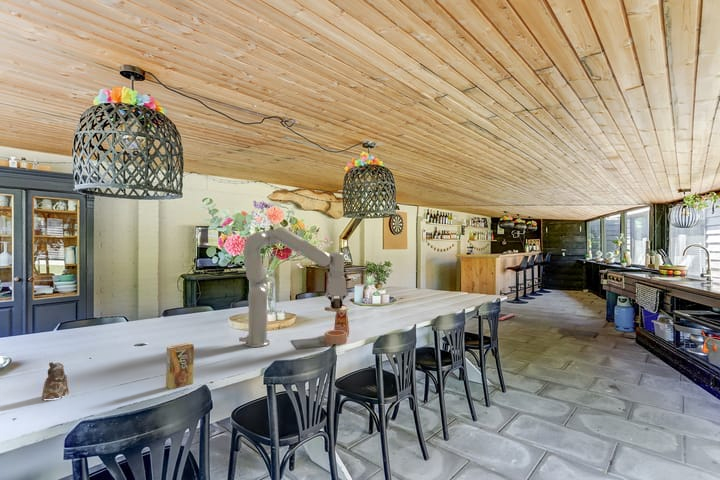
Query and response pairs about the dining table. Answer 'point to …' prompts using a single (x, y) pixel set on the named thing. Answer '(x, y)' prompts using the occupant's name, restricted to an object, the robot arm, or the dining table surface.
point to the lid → (336, 306)
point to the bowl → (335, 337)
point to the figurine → (55, 382)
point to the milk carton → (342, 321)
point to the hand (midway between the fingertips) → (336, 307)
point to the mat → (308, 343)
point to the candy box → (179, 365)
